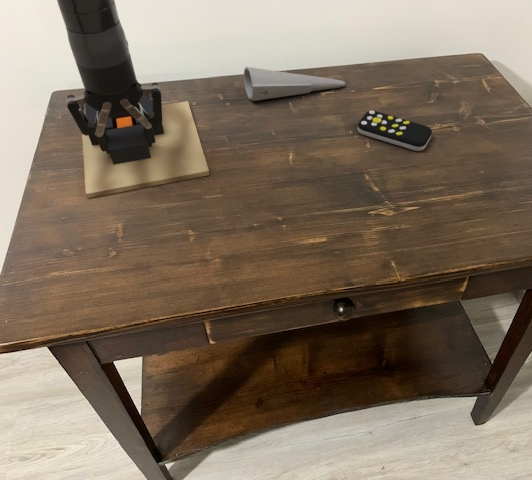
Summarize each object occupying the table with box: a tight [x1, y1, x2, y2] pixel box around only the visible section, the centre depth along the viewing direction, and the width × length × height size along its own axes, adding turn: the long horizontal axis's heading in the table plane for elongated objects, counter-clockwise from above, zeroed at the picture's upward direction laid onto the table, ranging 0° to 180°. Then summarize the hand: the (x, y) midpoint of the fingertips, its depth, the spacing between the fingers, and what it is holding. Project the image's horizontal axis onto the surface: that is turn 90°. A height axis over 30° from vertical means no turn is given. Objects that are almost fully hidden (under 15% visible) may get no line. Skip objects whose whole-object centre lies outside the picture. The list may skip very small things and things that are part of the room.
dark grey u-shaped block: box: [84, 94, 164, 146], centre depth 93 cm, size 12×9×3 cm
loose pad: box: [106, 116, 151, 164], centre depth 88 cm, size 6×8×3 cm
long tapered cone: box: [243, 66, 346, 102], centre depth 104 cm, size 6×6×19 cm
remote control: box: [357, 110, 433, 152], centre depth 95 cm, size 6×13×2 cm, turn 64°
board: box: [81, 100, 210, 199], centre depth 91 cm, size 19×21×1 cm
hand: (129, 147), depth 88 cm, fingers closed on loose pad, 6 cm apart
